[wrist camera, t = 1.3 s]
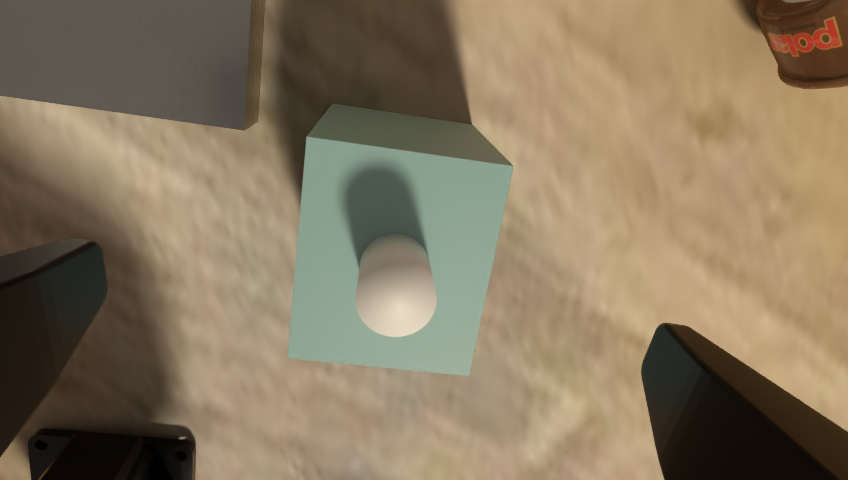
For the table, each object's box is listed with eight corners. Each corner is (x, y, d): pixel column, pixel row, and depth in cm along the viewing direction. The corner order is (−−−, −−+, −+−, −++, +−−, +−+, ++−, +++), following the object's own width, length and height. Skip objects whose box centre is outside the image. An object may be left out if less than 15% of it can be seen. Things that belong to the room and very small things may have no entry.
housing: (444, 275, 22) (480, 422, 14) (316, 260, 22) (273, 403, 13) (471, 124, 20) (533, 186, 12) (332, 103, 20) (293, 153, 11)
